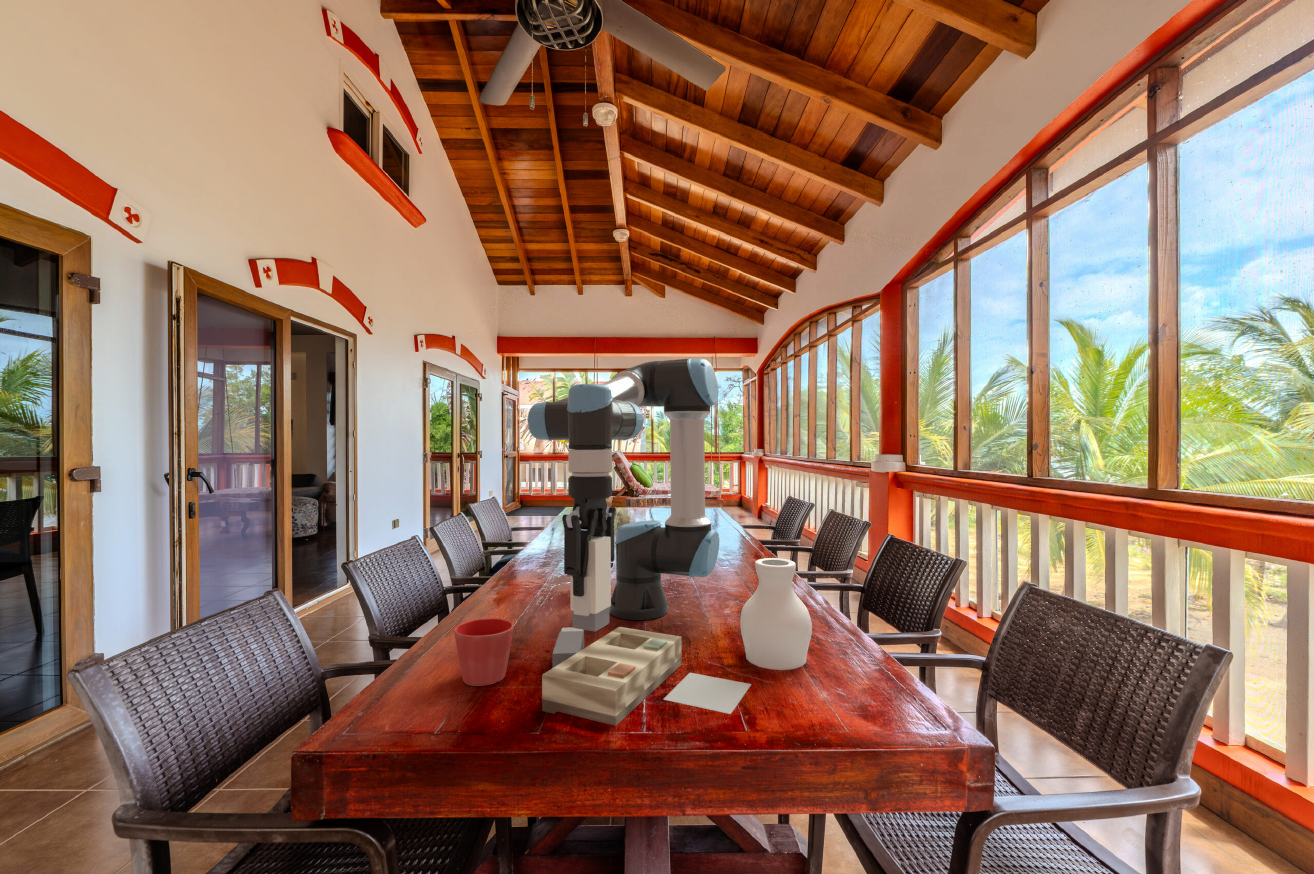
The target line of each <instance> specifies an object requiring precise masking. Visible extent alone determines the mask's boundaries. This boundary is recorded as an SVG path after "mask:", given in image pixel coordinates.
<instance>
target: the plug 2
mask: <svg viewBox="0 0 1314 874" xmlns="http://www.w3.org/2000/svg"><path fill="white" fill-rule="evenodd" d="M611 563H612V562H611V537H605V536H604V537H596V536H592V537H591V541H589V558H588V566H587V573H586V576H590V615H589V616H583V615H576V614H574V595H573V577H572V576H570V577H569V579H570V580H569V581H570V583H569V585H570V590H569V591H570V595H569V596H570V597H569V599H570V604H569V605H570V611H571V623H572V624H571V627H572V628H577V629H583V630H584V631H589V632H598V631H599V630H600V629H602V628H604V627H605V626H608V625H609V624H610V606H611V597H612V591H611V590H612V580H611V579H612V578H611V577H612V576H611V573H612V571H611V570H612V568H611Z"/></svg>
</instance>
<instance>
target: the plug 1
mask: <svg viewBox="0 0 1314 874" xmlns="http://www.w3.org/2000/svg"><path fill="white" fill-rule="evenodd" d="M584 637H585V630H583V629H577V628H572V626H571V627H562V628H561V631H559V633H558V635H557V638H556V641H555V644H554V647H553V651H552V657H551V658H552V668H554V667H555V666H557V665H559V664H560V663H562V662H563V661H565V660H567V659H568V658H570V657H571V656H573V655H575V654H576V653H578V652H579V651H581V650H583V649H584V648H585V638H584ZM552 668H551V669H552Z"/></svg>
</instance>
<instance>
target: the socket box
mask: <svg viewBox="0 0 1314 874" xmlns="http://www.w3.org/2000/svg"><path fill="white" fill-rule="evenodd" d="M681 666H682V636H680V635H673V634H667V633H662V632H653V631H648V630H643V629H642V630H641V629H635V628H629V627H624V626H623V627H622V626H618V627H616V628H615V629H613V630H612V631H610V632H609V633H607V634H605V635H603V636H602V637H600V638H598V639H597V640H595V641H594V642H593V643H591V644H589V645H588V646H586V647H584V649H583V650H581V651H579V652H578V653H576V654H575V655H573V656H571V657H570V658H568V659H567V660H565V661H563V662H562V663H560V664H559V665H557V666H555V667H554V668H550V669H549V670H548V671H545V672H544V673H543V674H541V680H542V681H541V692H542V693H541V694H542V695H541V701H542V703H541V704H542V705H541V706H542V707H541V711H542V712H545V713H549V714H553V715H554V714H556V713H557V712H558V713H563V714H567V715H571V716H575V717H578V718H582V719H587V720H591V721H594V722H598V723H602V724H606V725H611V726H614V727H616V726H617V725H619V723H621V722H623V720H624V719H625V718H626V717H627V716H629V714H630V713H631V712H632V711H633V710H635V709H636V708H637V707H638V706H639V704H641V703H642V702H643V701H644V700H646V699H647V698H648V696H649V695H650V694H652V693H653V692H654V691H655V690H656V689H657V688H658V687H659V686H660V685H661V684H662V683H663V682H665V680H667V679H668V677H670V676H671V675H672V674H673V673H674V672H675V671H677V669H678V668H679V667H681Z"/></svg>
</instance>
